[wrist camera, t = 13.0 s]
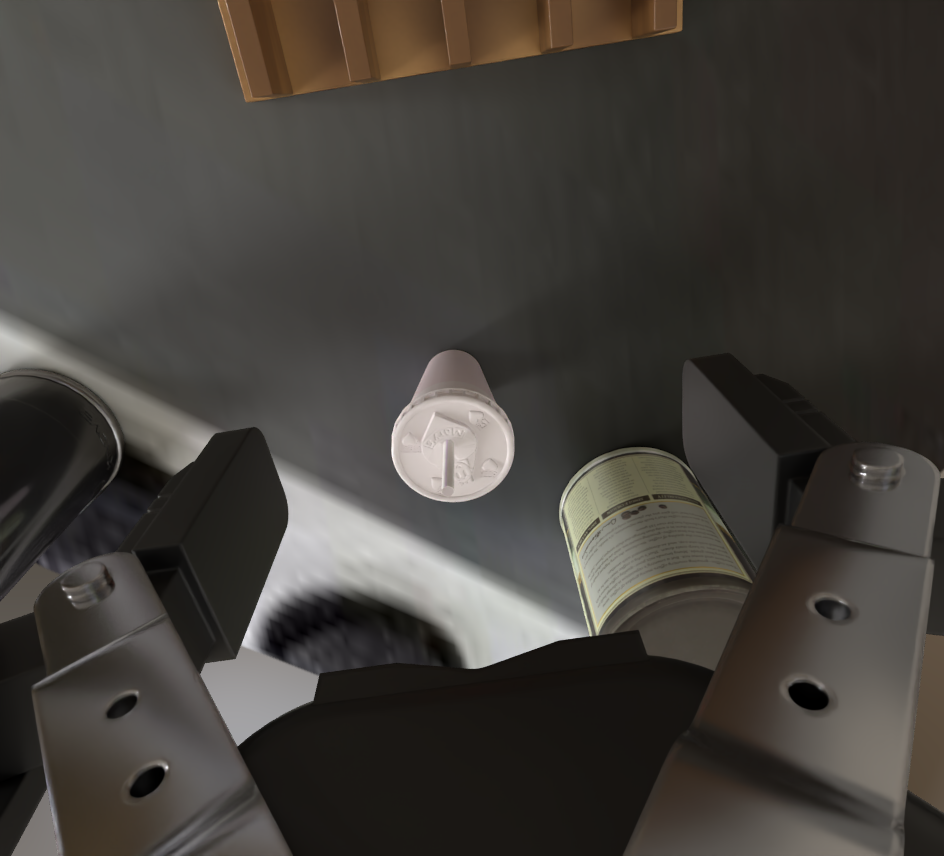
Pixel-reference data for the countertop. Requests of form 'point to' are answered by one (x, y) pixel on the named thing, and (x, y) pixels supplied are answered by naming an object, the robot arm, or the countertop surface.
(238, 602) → the robot arm
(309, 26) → the dish rack
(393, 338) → the countertop surface
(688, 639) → the coffee can
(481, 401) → the smoothie
